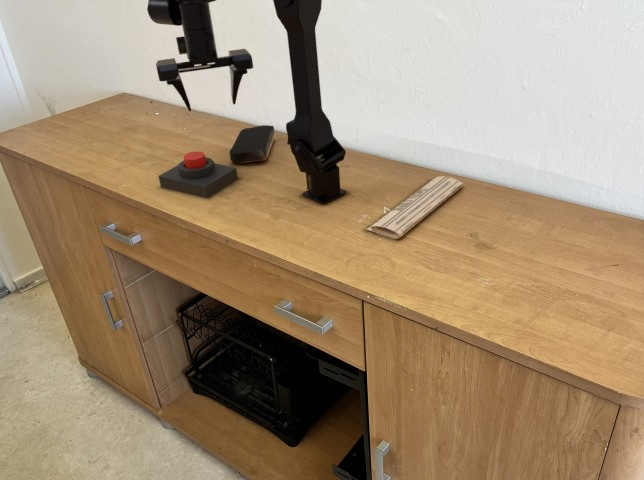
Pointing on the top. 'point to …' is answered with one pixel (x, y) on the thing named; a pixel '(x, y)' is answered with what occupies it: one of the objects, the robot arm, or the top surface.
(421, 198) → the newspaper
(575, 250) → the top surface
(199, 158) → the power button
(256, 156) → the black sponge
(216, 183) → the grey button base
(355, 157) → the top surface
